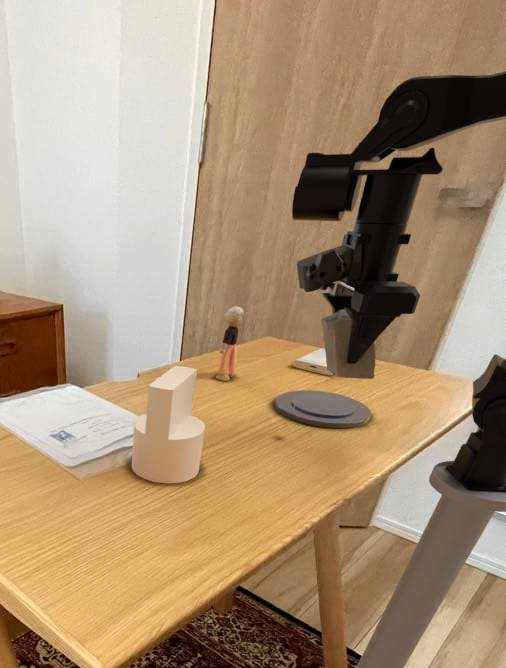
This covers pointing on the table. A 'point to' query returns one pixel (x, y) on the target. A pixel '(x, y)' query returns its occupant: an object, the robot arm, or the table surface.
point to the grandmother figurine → (230, 344)
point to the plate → (322, 409)
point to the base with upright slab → (169, 430)
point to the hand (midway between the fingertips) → (343, 356)
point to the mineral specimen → (344, 348)
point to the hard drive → (313, 362)
